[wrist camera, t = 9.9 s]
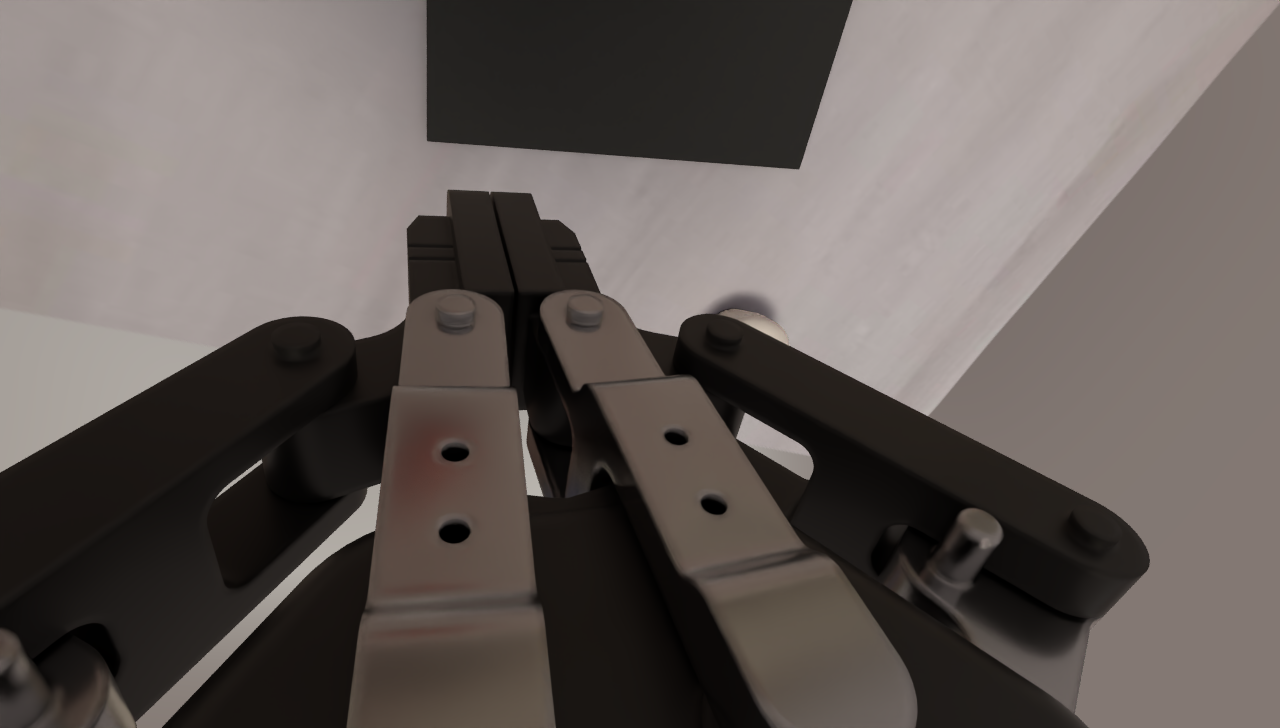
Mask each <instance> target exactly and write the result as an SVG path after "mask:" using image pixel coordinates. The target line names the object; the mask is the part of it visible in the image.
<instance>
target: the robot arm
mask: <svg viewBox="0 0 1280 728" xmlns="http://www.w3.org/2000/svg"><path fill="white" fill-rule="evenodd" d="M407 251H408V287H409V306H408V308H407V312H406V318H405V320H404V321H403V322H402V323H401V324H399V325H398V326H396V327H395V328H393V329H391V330H389V331H387V332H385V333H382V334H380V335H376V336H373V337H369V338H364V339H359V340H354V337H353V335H352V333H351V332H350V331H349V330H348V329H347V328H345V327H344V326H343V325H341V324H339V323H337V322H334V321H331V320H328V319H324V318H318V317H305V316H299V317H288V318H282V319H278V320H274V321H270V322H268V323H265V324H262V325H260V326H258V327H256V328H254V329H252V330H251V331H249V332H247V333H245V334H244V335H242V336H240V337H238V338H237V339H235V340H233V341H231V342H230V343H228V344H226V345H224V346H222V347H221V348H219V349H217V350H215V351H214V352H212V353H210V354H209V355H207V356H205V357H203V358H201V359H200V360H198V361H196V362H194V363H193V364H191V365H189V366H187V367H185V368H184V369H182V370H180V371H178V372H177V373H175V374H173V375H171V376H170V377H168V378H166V379H164V380H163V381H161V382H159V383H157V384H156V385H154V386H152V387H150V388H149V389H147V390H145V391H143V392H141V393H140V394H138V395H136V396H134V397H133V398H131V399H129V400H127V401H126V402H124V403H122V404H121V405H119V406H117V407H115V408H113V409H112V410H110V411H108V412H106V413H105V414H103V415H101V416H99V417H98V418H96V419H94V420H92V421H91V422H89V423H87V424H85V425H84V426H82V427H80V428H78V429H76V430H75V431H73V432H72V433H69V434H68V435H66V436H65V437H62V438H60V439H59V440H57V441H55V442H53V443H52V444H50V445H48V446H46V447H45V448H43V449H41V450H39V451H38V452H36V453H34V454H32V455H31V456H29V457H27V458H25V459H24V460H22V461H20V462H18V463H16V464H15V465H13V466H11V467H9V468H8V469H6V470H4V471H2V472H1V473H0V728H137V725H136V721H137V720H138V719H139V718H140V717H141V716H142V715H143V714H145V712H147V711H148V710H149V709H150V708H151V707H152V706H153V705H154V704H155V703H156V702H157V701H158V700H159V699H160V698H161V697H162V696H163V695H164V694H165V693H166V692H167V691H169V690H170V688H172V687H173V686H174V685H175V684H176V683H177V682H178V681H179V680H180V679H181V678H182V677H183V676H184V675H185V674H186V673H187V672H188V671H189V670H190V669H191V668H192V667H194V665H196V664H197V663H198V661H200V660H201V659H202V658H203V657H204V656H205V655H206V654H207V653H208V652H209V651H210V650H211V649H212V648H213V647H214V646H215V645H216V644H218V643H219V641H221V640H222V639H223V638H224V637H225V636H226V635H227V634H228V633H229V632H230V631H231V630H232V629H233V628H234V627H235V626H236V625H237V624H238V623H239V622H240V621H242V620H243V619H244V618H245V617H246V616H247V615H248V614H249V613H250V612H251V611H252V610H253V609H254V608H255V607H256V606H257V605H258V604H259V603H260V602H261V601H262V600H263V599H264V598H265V597H267V596H268V595H269V594H270V593H271V592H272V591H273V590H274V589H275V588H276V587H277V586H278V585H279V584H280V583H281V582H282V581H283V580H284V579H285V578H286V577H287V576H288V575H289V574H291V573H292V572H293V571H294V570H295V569H296V568H297V567H298V566H299V565H300V564H301V563H302V562H303V561H304V560H305V559H306V558H307V557H308V556H309V555H310V554H311V553H312V552H313V551H314V550H316V549H317V548H318V547H319V546H320V545H321V544H322V543H323V542H324V541H325V540H326V539H327V538H328V537H329V536H330V535H331V534H332V533H333V532H334V531H335V530H336V529H337V528H338V527H339V526H340V525H342V524H343V523H344V522H345V521H346V520H347V519H348V518H349V517H350V516H351V515H352V514H353V513H354V512H355V511H356V510H357V509H358V508H359V507H360V506H361V504H362V503H363V501H364V499H365V497H366V494H367V488H368V487H371V486H373V485H377V484H380V483H381V487H380V496H379V505H378V513H377V521H376V530H375V531H374V532H371V533H369V534H366V535H364V536H362V537H361V538H359V539H357V540H355V541H353V542H352V543H349V544H347V545H346V546H345V547H343V548H341V549H340V550H339V551H337V552H335V553H334V554H332V555H331V556H330V557H328V558H327V559H326V560H324V561H323V562H322V563H321V564H320V565H318V566H317V567H316V568H315V569H314V570H313V571H311V572H310V573H309V574H308V575H307V576H306V577H305V578H304V579H303V580H302V582H300V583H299V585H298V586H296V588H295V589H294V590H293V591H292V592H291V593H290V594H289V595H288V596H287V597H286V598H285V599H284V600H283V601H282V602H281V603H280V604H279V605H278V607H277V608H275V610H274V611H273V612H272V613H271V614H270V615H269V616H268V617H267V618H266V619H265V620H264V621H263V622H262V623H261V624H260V625H259V626H258V628H256V630H254V632H253V633H252V634H251V635H250V636H249V637H248V638H247V639H246V640H245V641H244V642H243V643H242V644H241V645H240V646H239V647H238V648H237V649H236V650H235V651H234V652H233V654H232V655H231V656H230V657H229V658H228V659H227V660H226V661H225V662H224V663H223V664H222V665H221V666H220V667H219V668H218V669H217V670H216V671H215V672H214V674H212V675H211V677H210V678H209V679H208V680H207V681H206V682H205V683H204V684H203V685H202V686H201V687H200V688H199V689H198V690H197V691H196V692H195V693H194V694H193V695H192V696H191V697H190V699H189V700H188V701H187V702H186V703H185V704H184V705H183V706H182V707H181V708H180V709H179V710H178V711H177V712H176V713H175V714H174V715H173V717H171V719H169V720H168V722H167V723H166V724H165V725H164V726H163V727H162V728H1088V727H1087V726H1086V725H1085V724H1084V723H1083V722H1082V721H1081V720H1080V719H1079V718H1078V717H1077V716H1076V715H1075V714H1074V713H1075V708H1076V703H1077V697H1078V692H1079V686H1080V681H1081V675H1082V669H1083V664H1084V659H1085V653H1086V648H1087V642H1088V637H1089V631H1090V630H1091V629H1092V628H1093V627H1094V626H1095V625H1096V623H1097V622H1098V621H1099V620H1100V619H1101V618H1102V617H1103V616H1104V615H1105V614H1106V613H1107V612H1108V611H1109V610H1110V609H1111V608H1112V607H1113V606H1114V605H1115V604H1116V603H1117V602H1118V600H1119V599H1120V598H1121V597H1122V596H1123V595H1124V594H1125V593H1126V592H1127V591H1128V590H1129V589H1130V588H1131V587H1132V586H1133V585H1134V584H1135V582H1137V580H1139V578H1140V577H1141V576H1142V575H1143V574H1144V573H1145V572H1146V571H1147V570H1148V567H1149V563H1150V559H1149V554H1148V551H1147V549H1146V546H1145V545H1144V543H1143V542H1142V540H1141V538H1140V537H1139V536H1138V534H1137V533H1136V532H1135V531H1134V530H1133V529H1132V528H1131V527H1130V526H1129V525H1128V524H1127V523H1126V522H1125V521H1124V520H1122V519H1121V518H1120V517H1119V516H1117V515H1116V514H1115V513H1113V512H1112V511H1110V510H1109V509H1107V508H1106V507H1104V506H1102V505H1101V504H1099V503H1097V502H1095V501H1093V500H1091V499H1089V498H1087V497H1085V496H1083V495H1081V494H1079V493H1077V492H1075V491H1073V490H1071V489H1069V488H1067V487H1066V486H1064V485H1062V484H1060V483H1058V482H1056V481H1054V480H1052V479H1050V478H1048V477H1046V476H1044V475H1042V474H1040V473H1038V472H1036V471H1034V470H1032V469H1030V468H1028V467H1026V466H1024V465H1022V464H1020V463H1018V462H1016V461H1015V460H1012V459H1011V458H1009V457H1007V456H1005V455H1003V454H1000V453H998V452H997V451H995V450H993V449H991V448H989V447H987V446H985V445H983V444H981V443H979V442H977V441H975V440H973V439H971V438H969V437H967V436H965V435H963V434H961V433H959V432H958V431H956V430H954V429H951V428H950V427H948V426H946V425H944V424H942V423H940V422H938V421H936V420H934V419H932V418H930V417H928V416H926V415H924V414H922V413H920V412H918V411H916V410H914V409H912V408H910V407H908V406H907V405H905V404H903V403H901V402H899V401H897V400H895V399H893V398H891V397H889V396H887V395H885V394H883V393H881V392H879V391H877V390H875V389H873V388H871V387H869V386H867V385H865V384H863V383H861V382H859V381H857V380H855V379H854V378H852V377H850V376H848V375H846V374H844V373H842V372H840V371H838V370H836V369H834V368H832V367H830V366H828V365H826V364H824V363H822V362H820V361H818V360H816V359H814V358H812V357H810V356H808V355H806V354H804V353H802V352H800V351H799V350H797V349H795V348H793V347H791V346H789V345H787V344H785V343H783V342H781V341H779V340H777V339H775V338H773V337H771V336H769V335H767V334H765V333H763V332H761V331H759V330H757V329H755V328H753V327H751V326H749V325H747V324H746V323H744V322H741V321H739V320H737V319H734V318H731V317H727V316H723V315H717V314H701V315H696V316H693V317H690V318H688V319H686V320H685V321H684V322H683V323H682V325H681V327H680V331H679V335H678V337H675V336H669V335H664V334H659V333H653V332H648V331H644V330H641V329H638V328H636V326H635V325H634V323H633V321H632V320H631V318H630V316H629V315H628V313H627V311H626V310H625V308H624V307H623V306H622V305H621V304H620V303H618V302H617V301H616V300H614V299H612V298H610V297H608V296H606V295H603V294H601V293H600V291H599V288H598V286H597V284H596V281H595V279H594V277H593V274H592V272H591V270H590V267H589V265H588V263H586V258H585V256H584V253H583V251H581V246H580V244H579V242H578V239H577V237H576V235H575V233H574V232H573V231H571V230H570V229H569V228H568V227H566V226H565V225H564V224H563V223H561V222H560V221H559V220H541V219H540V217H539V214H538V211H537V208H536V205H535V203H534V200H533V197H532V195H531V194H530V193H509V192H491V193H490V195H489V192H485V191H464V190H448V191H447V216H421V215H419V216H418V217H417V218H416V219H415V220H414V221H413V222H412V223H411V225H410V226H409V227H408V228H407ZM519 410H527V412H528V416H529V422H528V432H527V447H528V450H529V453H530V457H531V460H532V462H533V466H534V469H535V472H536V475H537V478H538V481H539V484H540V487H541V490H542V493H543V497H541V496H531V495H527V490H526V479H525V470H524V459H523V449H522V439H521V429H520V419H519ZM744 413H747V414H749V415H751V416H752V417H754V418H756V419H758V420H759V421H761V422H763V423H765V424H766V425H768V426H770V427H772V428H774V429H775V430H777V431H779V432H781V433H782V434H784V435H786V436H788V437H789V438H791V439H793V440H795V441H796V442H798V443H800V444H801V445H802V446H803V447H805V448H806V450H807V451H808V452H809V454H810V455H811V457H812V460H813V464H814V469H813V473H812V475H811V478H810V480H806V479H804V478H802V477H800V476H798V475H797V474H795V473H793V472H791V471H790V470H788V469H787V468H785V467H783V466H782V465H780V464H778V463H776V462H774V461H773V460H771V459H770V458H768V457H766V456H765V455H763V454H761V453H759V452H758V451H756V450H754V449H753V448H751V447H749V446H748V445H746V444H744V443H743V442H741V441H739V440H737V439H736V437H737V434H738V431H739V428H740V425H741V422H742V419H743V416H744ZM261 459H262V464H260V465H259V466H258V467H256V468H255V469H254V470H253V471H251V472H250V473H249V474H247V475H246V476H245V477H243V478H242V479H241V480H239V481H238V482H237V483H236V484H234V485H233V486H232V487H230V488H229V489H228V490H226V491H225V492H224V493H222V494H221V495H220V496H219V497H217V495H218V494H219V493H220V492H221V491H222V489H223V488H224V487H226V486H227V485H228V484H229V483H230V482H232V481H233V480H234V479H236V478H237V477H238V476H240V475H241V474H242V473H244V472H245V471H246V470H248V469H249V468H250V467H252V466H253V465H254V464H256V463H257V462H258V461H259V460H261ZM216 497H217V498H216ZM215 498H216V499H215Z"/></svg>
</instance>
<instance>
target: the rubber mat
mask: <svg viewBox="0 0 1280 728" xmlns="http://www.w3.org/2000/svg"><path fill="white" fill-rule="evenodd" d="M852 1H853V0H427V141H432V142H445V143H459V144H472V145H485V146H498V147H511V148H525V149H538V150H551V151H564V152H577V153H590V154H604V155H617V156H630V157H643V158H656V159H669V160H683V161H696V162H709V163H722V164H735V165H749V166H762V167H775V168H788V169H799V168H800V165H801V162H802V159H803V156H804V153H805V149H806V146H807V143H808V140H809V137H810V134H811V130H812V127H813V124H814V121H815V118H816V115H817V112H818V108H819V105H820V102H821V99H822V96H823V93H824V89H825V86H826V83H827V80H828V77H829V74H830V71H831V67H832V64H833V61H834V58H835V55H836V52H837V48H838V45H839V42H840V39H841V36H842V33H843V29H844V26H845V23H846V20H847V17H848V14H849V11H850V7H851V4H852Z"/></svg>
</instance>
